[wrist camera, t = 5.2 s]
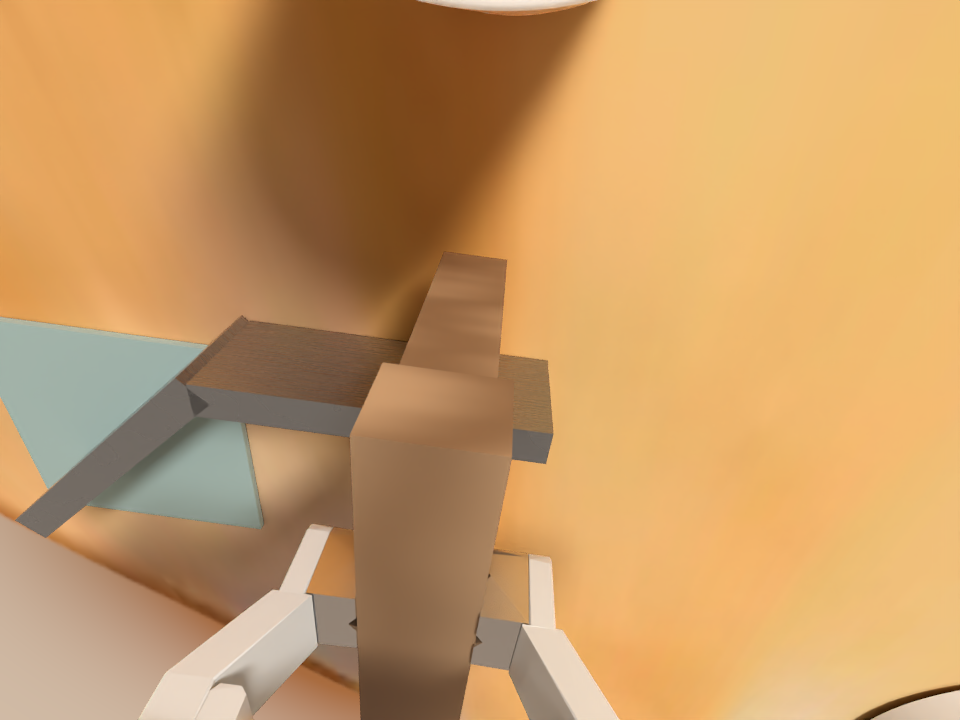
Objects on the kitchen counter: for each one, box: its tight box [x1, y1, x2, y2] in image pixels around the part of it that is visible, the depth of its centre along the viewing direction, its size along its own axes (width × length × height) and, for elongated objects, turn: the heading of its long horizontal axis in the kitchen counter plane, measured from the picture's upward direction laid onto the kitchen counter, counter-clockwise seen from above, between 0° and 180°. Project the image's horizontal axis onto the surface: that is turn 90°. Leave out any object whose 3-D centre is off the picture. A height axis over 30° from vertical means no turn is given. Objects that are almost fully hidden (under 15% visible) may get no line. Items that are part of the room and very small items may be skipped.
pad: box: [0, 317, 264, 529], centre depth 21 cm, size 10×10×1 cm
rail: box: [15, 316, 553, 538], centre depth 18 cm, size 19×9×4 cm, turn 83°
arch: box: [350, 252, 514, 720], centre depth 13 cm, size 2×10×8 cm, turn 173°
